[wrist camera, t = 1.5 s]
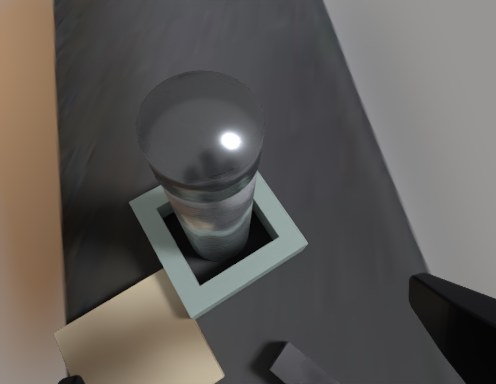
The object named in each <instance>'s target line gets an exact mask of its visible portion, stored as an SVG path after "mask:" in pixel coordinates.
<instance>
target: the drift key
mask: <svg viewBox="0 0 496 384" xmlns="http://www.w3.org/2000/svg"><path fill="white" fill-rule="evenodd" d="M268 369H269V370H270V371H271V372H273V373H274V374H275V375H276V376H277V377H279V378H280V379H281V380H282V381H283V382H284V383H286V384H340V383H338V382H337V381H336V380H335V379H334V378H332V377H331V376H330V375H329V374H327V373H326V372H325V371H324V370H323V369H321V368H320V367H319V366H318V365H316V364H315V363H314V362H313V361H312V360H310V359H309V358H308V357H307V356H305V355H304V354H303V353H302V352H301V351H299V350H298V349H297V348H296V347H294V346H293V345H292V344H291V343H290V342H287V341H286V342H285V343H284V345H283V346H282V348H281V349H280V351H279V352H278V354H277V355H276V357H275V358H274V360H273V361H272V362H271V364H270V365H269V367H268Z"/></svg>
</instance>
